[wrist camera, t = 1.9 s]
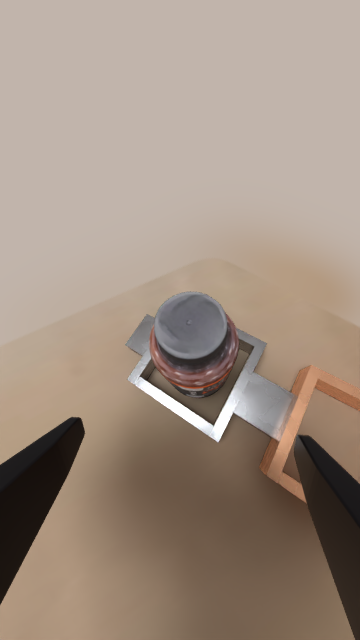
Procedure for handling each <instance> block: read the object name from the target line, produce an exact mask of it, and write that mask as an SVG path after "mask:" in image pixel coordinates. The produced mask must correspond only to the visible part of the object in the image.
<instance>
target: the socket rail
mask: <svg viewBox="0 0 360 640" xmlns="http://www.w3.org/2000/svg"><path fill="white" fill-rule="evenodd" d="M154 320H155V318H153V317H152V316H150V315H148V314H147V315H146V316H145V318H144V319H143V321H142V322H141V323H140V325H139V326H138V327H137V329H136V330H135V332H134V333H133V334H132V336H131V337H130V339H129V340H128V341H127V343H126V344H125V345H126V346H127V347H128V348H130V349H131V350H133V351H135V352H136V353H138V354H139V355H141V356H143V357H142V358H141V360H140V361H139V363H138V364H137V366H136V367H135V369H134V370H133V372H132V373H131V374H130V376H129V377H128V379H127V380H129V381H130V382H131V383H133V384H134V385H136V386H137V387H139V388H140V389H142V390H143V391H145V392H146V393H147V394H149V395H150V396H152V397H153V398H155V399H156V400H158V401H159V402H160V403H162V404H163V405H165V406H166V407H168V408H169V409H171V410H172V411H174V412H175V413H176V414H178V415H179V416H181V417H182V418H184V419H185V420H187V421H188V422H189V423H191V424H192V425H194V426H195V427H197V428H198V429H200V430H201V431H203V432H204V433H205V434H207V435H208V436H210V437H211V438H213V439H214V440H216V441H217V442H219V440H220V438H221V436H222V434H223V432H224V430H225V428H226V426H227V424H228V422H229V420H230V418H231V416H232V414H235V415H237V416H238V417H240V418H241V419H243V420H245V421H246V422H248V423H249V424H251V425H252V426H254V427H256V428H257V429H259V430H260V431H262V432H264V433H265V434H267V435H268V436H270V437H272V438H271V440H270V443H269V445H268V447H267V450H266V452H265V455H264V457H263V459H262V462H261V464H260V466H259V468H260V469H261V470H262V472H263V473H264V474H265V475H266V476H268V477H269V478H271V479H272V480H274V481H275V482H276V483H278V484H279V485H281V486H282V487H284V488H285V489H287V490H288V491H290V492H291V493H292V494H294V495H295V496H297V497H298V498H300V499H301V500H303V501H304V502H305V503H306V499H305V495H304V491H303V488H302V484H301V483H299V482H298V481H296V480H295V479H293V478H292V477H290V476H289V475H287V474H286V473H284V472H283V471H282V470H283V467H284V465H285V462H286V459H287V457H288V454H289V452H290V449H291V447H292V444H293V441H294V439H295V436H296V434H297V431H298V429H299V426H300V423H301V421H302V418H303V416H304V413H305V410H306V408H307V405H308V403H309V400H310V398H311V395H312V392H313V390H314V387H315V388H317V389H318V390H320V391H322V392H324V393H326V394H328V395H330V396H332V397H334V398H336V399H338V400H340V401H342V402H343V403H345V404H347V405H349V406H351V407H353V408H355V409H357V410H359V411H360V389H359V388H357V387H355V386H353V385H351V384H349V383H347V382H345V381H343V380H341V379H339V378H337V377H335V376H333V375H331V374H328V373H326V372H324V371H322V370H320V369H318V368H316V367H314V366H312V365H310V366H308V367H306V368H304V369H302V370H300V371H299V374H298V376H297V378H296V381H295V383H294V386H293V388H292V390H291V392H289V391H287V390H285V389H284V388H282V387H280V386H278V385H276V384H274V383H273V382H271V381H269V380H267V379H265V378H263V377H262V376H260V375H258V374H256V373H254V372H253V371H254V369H255V367H256V365H257V363H258V361H259V359H260V357H261V355H262V353H263V350H264V348H265V346H266V344H267V343H265V342H263V341H261V340H259V339H257V338H255V337H253V336H251V335H249V334H247V333H245V332H243V331H241V330H239V329H237V328H236V330H237V333H238V338H239V348H240V349H242V350H244V351H245V352H247V353H249V354H250V355H249V356H248V358H247V360H246V362H245V364H244V366H243V368H242V370H241V372H240V374H239V376H238V378H237V380H236V382H235V384H234V386H233V388H232V390H231V392H230V394H229V396H228V398H227V400H226V401H225V403H224V405H223V407H222V409H221V411H220V413H219V415H218V417H217V419H216V421H215V423H214V425H212V424H211V423H209V422H208V421H206V420H205V419H203V418H202V417H200V416H199V415H197V414H196V413H194V412H193V411H191V410H190V409H188V408H187V407H185V406H184V405H182V404H181V403H179V402H178V401H176V400H175V399H173V398H172V397H170V396H169V395H167V394H166V393H164V392H163V391H161V390H160V389H158V388H157V387H155V386H154V385H152V384H151V383H149V382H148V381H146V380H147V379H148V377H149V376H150V374H151V373H152V371H153V370H154V368H155V364H154V363H153V360H152V358H151V354H150V349H149V338H150V333H151V330H152V327H153V325H154Z"/></svg>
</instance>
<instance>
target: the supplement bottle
mask: <svg viewBox="0 0 360 640" xmlns="http://www.w3.org/2000/svg"><path fill="white" fill-rule="evenodd" d="M149 349H150V354H151V358H152V360H153V363H154V364H155V366H156V368H157V369H158V371H159V372H160V373H161V374H162V375H163V376H164V377H165V378H166V379H167V380H168V381H169V382H170V383H171V384H172V385H173V386H174V387H175V388H176V389H177V390H178V391H180V392H181V393H183V394H184V395H187V396H190V397H195V398H200V397H206V396H209V395H211V394H214V393H215V392H216V391H217V390H219V389H220V388H221V387H222V386H223V384H224V383H225V381H226V379H227V377H228V375H229V373H230V371H231V369H232V367H233V365H234V363H235V360H236V358H237V354H238V350H239V338H238V333H237V330H236V327H235V325H234V323H233V321H232V320H231V318H230V317H229V316H228V315H227V314H226V313H225V312H224V310H223V308H222V306H221V305H220V304H219V303H218V302H217V301H216V300H215V299H213V298H212V297H210V296H208V295H207V294H203V293H200V292H184V293H180V294H177V295H174V296H173V297H171V298H169V299H168V300H167V301H165V302H164V303H163V304H162V305H161V307H160V308H159V310H158V312H157V314H156V316H155V320H154V325H153V327H152V330H151V333H150V338H149Z"/></svg>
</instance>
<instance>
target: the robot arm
mask: <svg viewBox="0 0 360 640" xmlns="http://www.w3.org/2000/svg"><path fill="white" fill-rule="evenodd" d="M84 434H85V430H84V426H83V423H82V419H81V418H79V417H71V418H69V419H67V420H66V421H64V422H63V423H61V424H60V425H59V426H57V427H56V428H54V429H53V430H51V431H50V432H48V433H47V434H45V435H44V436H42V437H41V438H39V439H38V440H36V441H35V442H33V443H32V444H30V445H29V446H27V447H26V448H25V449H23V450H22V451H20V452H19V453H17V454H16V455H14V456H13V457H11V458H10V459H8V460H7V461H5V462H4V463H2V464H1V465H0V605H1V603H2V601H3V599H4V597H5V595H6V593H7V591H8V589H9V587H10V585H11V583H12V582H13V580H14V578H15V576H16V574H17V572H18V570H19V568H20V566H21V564H22V562H23V560H24V558H25V557H26V555H27V553H28V551H29V549H30V547H31V545H32V543H33V541H34V539H35V537H36V535H37V534H38V532H39V530H40V528H41V526H42V524H43V522H44V520H45V518H46V516H47V514H48V512H49V510H50V509H51V507H52V505H53V503H54V501H55V499H56V497H57V495H58V493H59V491H60V489H61V487H62V485H63V484H64V482H65V480H66V478H67V476H68V474H69V471H70V469H71V467H72V464H73V462H74V460H75V457H76V455H77V452H78V450H79V447H80V445H81V443H82V440H83V438H84ZM294 456H295V460H296V464H297V468H298V472H299V476H300V480H301V484H302V488H303V491H304V495H305V499H306V503H307V506H308V509H309V511H310V514H311V517H312V520H313V523H314V526H315V528H316V531H317V534H318V537H319V540H320V542H321V545H322V548H323V551H324V554H325V556H326V559H327V562H328V565H329V568H330V570H331V573H332V576H333V579H334V582H335V584H336V587H337V590H338V593H339V596H340V598H341V601H342V604H343V607H344V610H345V612H346V615H347V618H348V621H349V624H350V626H351V629H352V632H353V635H354V638H355V640H360V484H359V483H358V482H357V481H356V480H355V479H354V478H353V477H352V476H351V475H350V474H349V473H348V472H347V471H346V470H345V469H344V468H343V467H342V466H341V465H340V464H338V463H337V462H336V461H335V460H334V459H333V458H332V457H331V456H330V455H329V454H328V453H327V452H326V451H325V450H324V449H323V448H322V447H321V446H320V445H319V444H318V443H317V442H316V441H315V440H314V439H313V438H312V437H310V436H308V435H297V437H296V442H295V447H294Z"/></svg>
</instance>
